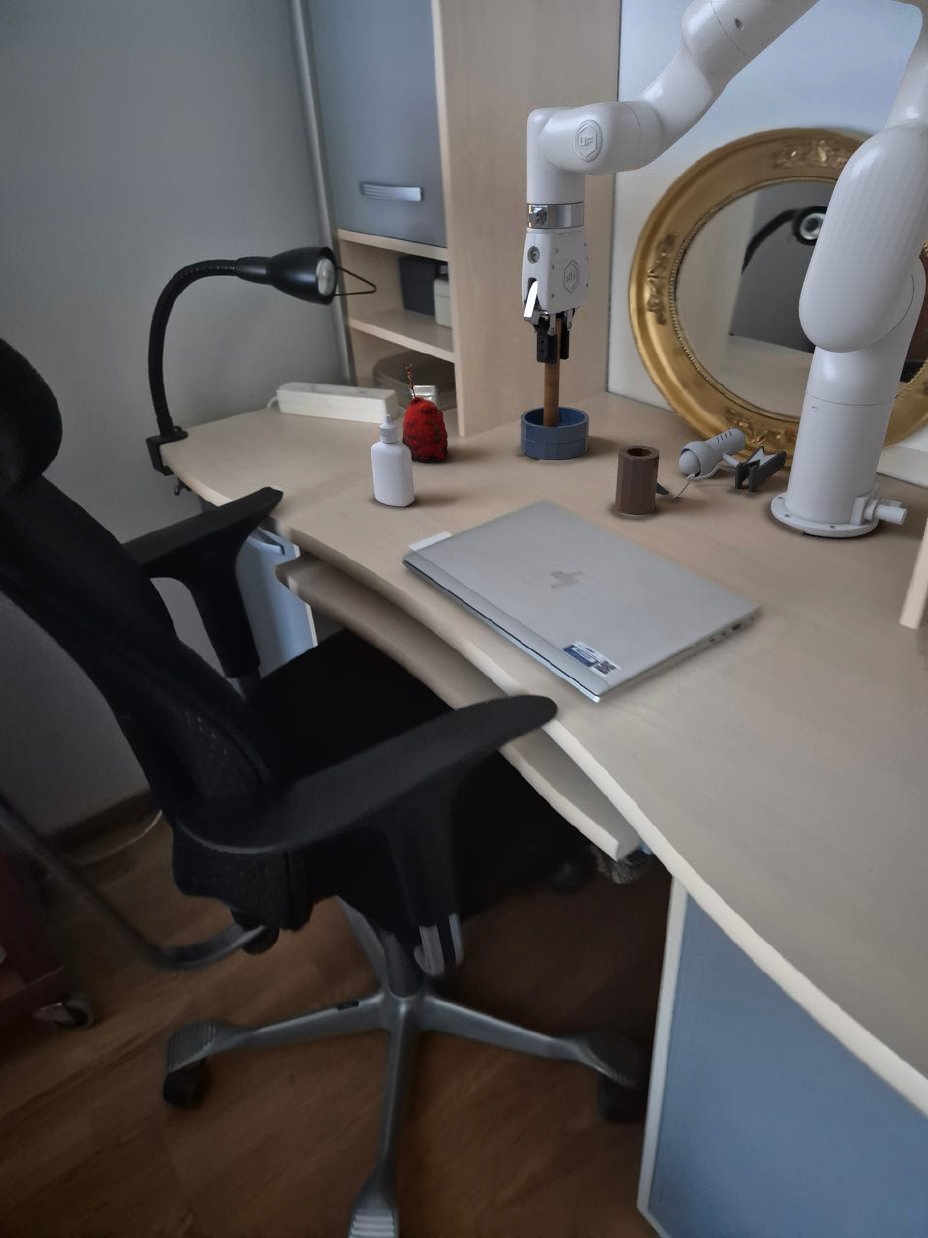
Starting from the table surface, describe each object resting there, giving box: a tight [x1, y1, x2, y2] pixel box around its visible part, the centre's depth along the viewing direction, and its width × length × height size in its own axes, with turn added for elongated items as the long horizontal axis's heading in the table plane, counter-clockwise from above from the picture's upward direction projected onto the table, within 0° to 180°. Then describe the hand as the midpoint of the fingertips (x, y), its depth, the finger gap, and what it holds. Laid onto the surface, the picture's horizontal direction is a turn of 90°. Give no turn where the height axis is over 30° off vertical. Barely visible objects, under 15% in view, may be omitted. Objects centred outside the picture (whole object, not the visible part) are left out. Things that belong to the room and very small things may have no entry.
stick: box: [543, 318, 561, 427], centre depth 117 cm, size 2×2×17 cm
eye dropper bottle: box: [370, 413, 415, 507], centre depth 108 cm, size 4×6×12 cm
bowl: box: [520, 406, 590, 461], centre depth 123 cm, size 10×10×6 cm
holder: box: [614, 444, 660, 516], centre depth 103 cm, size 5×5×8 cm
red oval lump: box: [400, 360, 449, 463], centre depth 121 cm, size 8×7×15 cm
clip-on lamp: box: [656, 427, 787, 498], centre depth 110 cm, size 12×6×18 cm
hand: (552, 359), depth 116 cm, fingers closed on stick, 2 cm apart
